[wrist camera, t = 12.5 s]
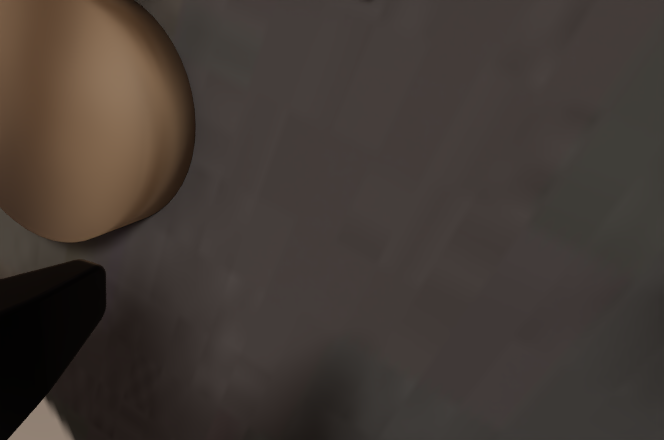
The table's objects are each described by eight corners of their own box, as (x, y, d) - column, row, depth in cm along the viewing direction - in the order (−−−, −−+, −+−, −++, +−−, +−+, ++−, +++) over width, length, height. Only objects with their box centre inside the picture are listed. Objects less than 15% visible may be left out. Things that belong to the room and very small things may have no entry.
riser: (229, 58, 20) (177, 59, 17) (153, 263, 24) (102, 289, 22) (38, -60, 22) (-34, -76, 19) (0, 149, 26) (-64, 159, 24)
